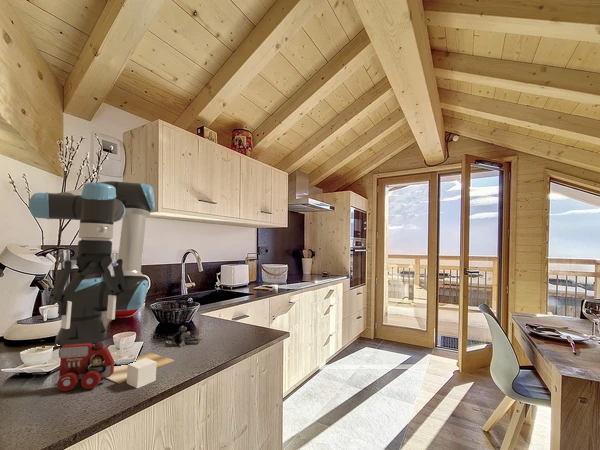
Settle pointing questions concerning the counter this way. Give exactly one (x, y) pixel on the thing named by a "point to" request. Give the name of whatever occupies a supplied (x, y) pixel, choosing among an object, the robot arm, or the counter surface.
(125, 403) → the counter surface
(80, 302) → the robot arm
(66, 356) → the toy fire truck
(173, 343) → the stuffed animal
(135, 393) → the counter surface
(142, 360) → the cream white cube
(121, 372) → the board
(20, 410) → the counter surface
